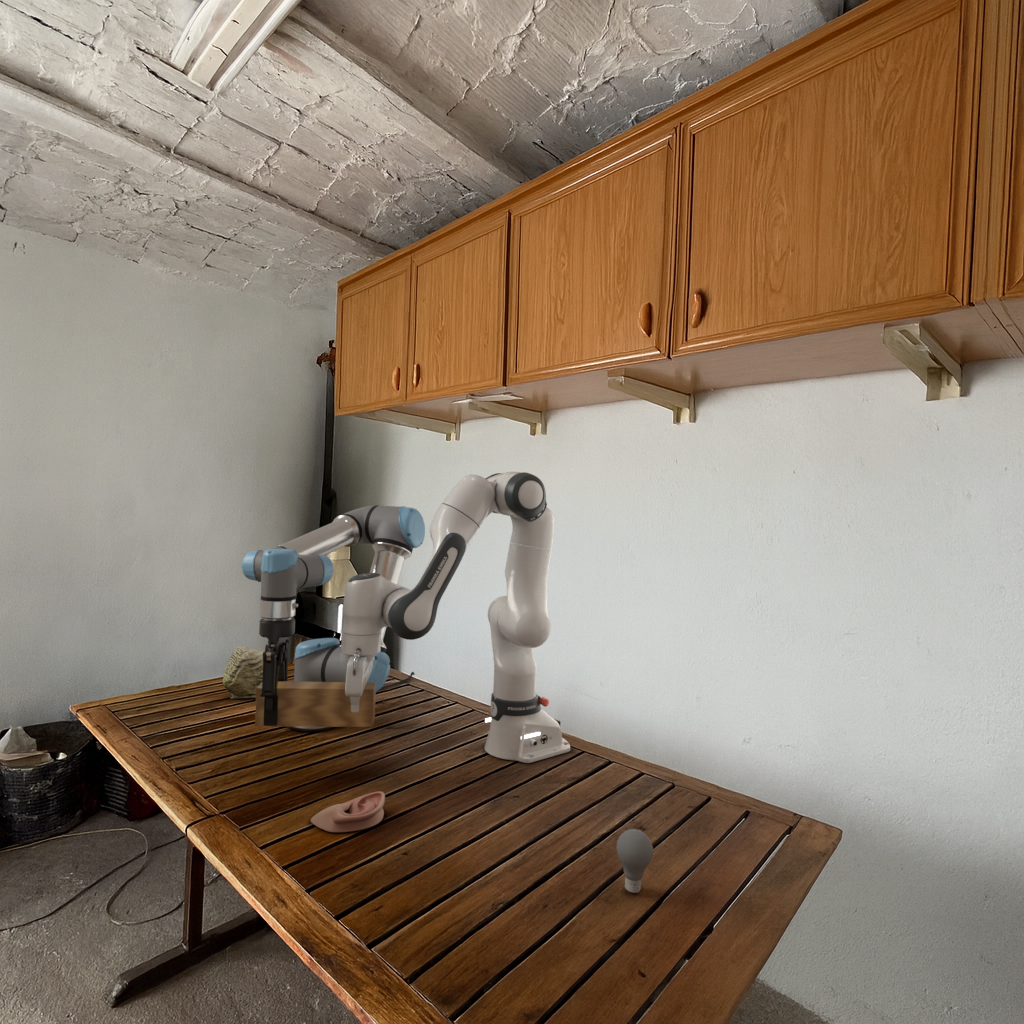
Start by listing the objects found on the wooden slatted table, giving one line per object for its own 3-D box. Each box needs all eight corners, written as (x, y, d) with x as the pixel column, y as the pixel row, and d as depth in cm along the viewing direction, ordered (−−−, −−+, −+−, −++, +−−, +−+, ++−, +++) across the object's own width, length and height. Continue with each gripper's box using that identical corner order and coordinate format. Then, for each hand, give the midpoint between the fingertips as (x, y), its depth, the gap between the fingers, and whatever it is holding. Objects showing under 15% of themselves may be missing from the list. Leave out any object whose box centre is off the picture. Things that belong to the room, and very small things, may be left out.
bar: (254, 726, 140) (256, 688, 140) (261, 718, 145) (262, 681, 145) (372, 726, 143) (373, 689, 143) (374, 718, 148) (376, 682, 148)
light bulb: (610, 879, 108) (613, 822, 108) (644, 879, 109) (647, 822, 109) (619, 902, 102) (622, 840, 102) (655, 901, 103) (658, 840, 103)
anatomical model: (303, 807, 121) (332, 781, 132) (302, 827, 121) (331, 800, 132) (368, 817, 118) (392, 790, 129) (367, 838, 118) (391, 809, 129)
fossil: (218, 695, 195) (220, 647, 195) (278, 685, 208) (279, 640, 207) (228, 703, 189) (230, 653, 188) (289, 692, 201) (290, 645, 201)
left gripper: (284, 626, 134) (280, 735, 134) (303, 610, 152) (300, 707, 152) (247, 625, 133) (243, 735, 133) (271, 610, 151) (267, 706, 152)
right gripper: (370, 655, 135) (366, 720, 135) (379, 635, 155) (376, 691, 155) (339, 654, 134) (336, 719, 134) (353, 634, 154) (350, 690, 154)
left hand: (273, 720), depth 143 cm, fingers closed on bar, 5 cm apart
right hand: (357, 704), depth 145 cm, fingers open, 8 cm apart
